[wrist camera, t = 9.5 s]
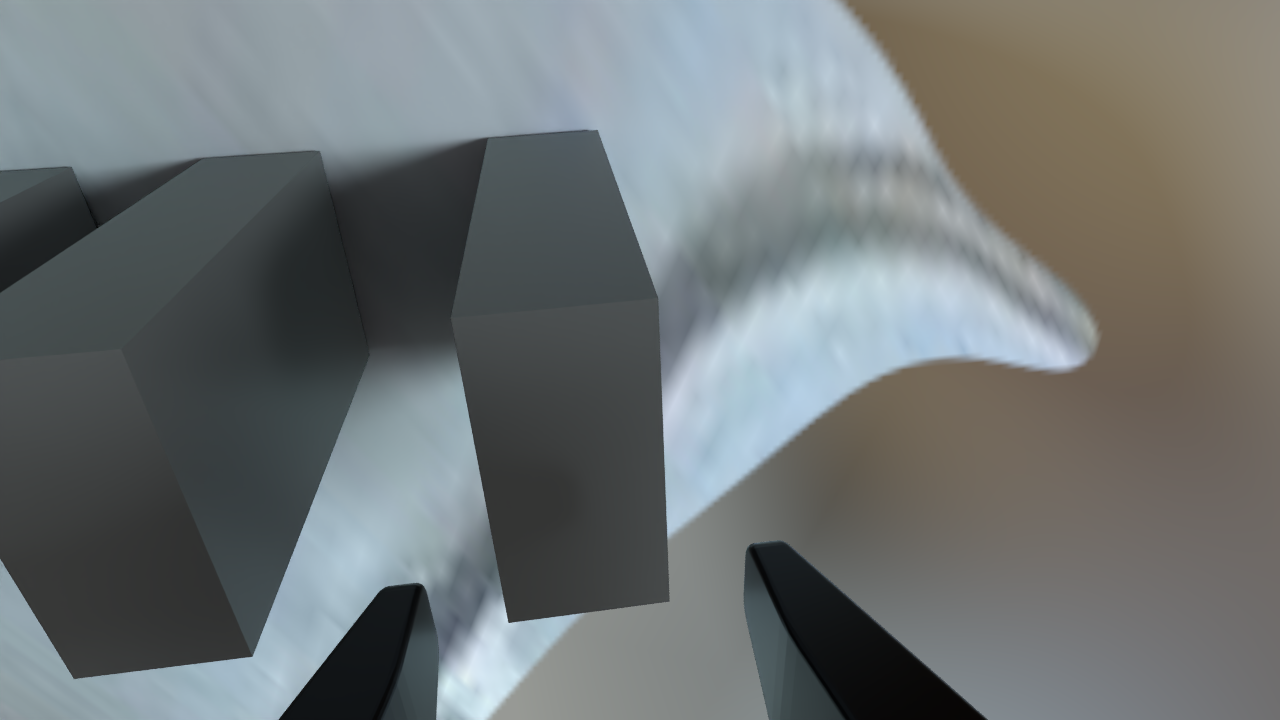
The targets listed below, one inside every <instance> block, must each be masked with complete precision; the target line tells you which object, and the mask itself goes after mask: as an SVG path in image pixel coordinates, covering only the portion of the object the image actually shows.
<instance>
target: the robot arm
mask: <svg viewBox="0 0 1280 720" xmlns="http://www.w3.org/2000/svg"><path fill="white" fill-rule="evenodd" d="M744 609H745V615H746V620H747V625H748V629H749V634H750V638H751V642H752V647H753V651H754V655H755V660H756V664H757V669H758V673H759V677H760V682H761V686H762V690H763V695H764V699H765V704H766V708H767V712H768V717H769V720H988V719H987V718H985V717H984V716H983V715H982V714H981V713H980V712H979V711H977V710H976V709H975V708H974V707H973V706H972V705H971V704H969V703H968V702H967V701H966V700H965V699H964V698H963V697H961V696H960V695H959V694H958V693H957V692H956V691H955V690H954V689H952V688H951V687H950V686H949V685H948V684H947V683H946V682H945V681H943V680H942V679H941V678H940V677H939V676H938V675H937V674H935V673H934V672H933V671H932V670H931V669H930V668H928V667H927V666H926V665H925V664H924V663H923V662H922V661H920V659H918V658H917V657H916V656H915V655H914V654H913V653H912V652H910V651H909V650H908V649H907V648H906V647H905V646H904V645H902V644H901V643H900V642H899V641H898V640H897V639H896V638H895V637H893V636H892V635H891V634H890V633H889V632H888V631H887V630H885V629H884V628H883V627H882V626H881V625H880V624H879V623H878V622H876V621H875V620H874V619H873V618H872V617H871V616H870V615H868V614H867V613H866V612H865V611H864V610H863V609H861V608H860V607H859V606H858V605H857V604H856V603H855V602H854V601H852V600H851V599H850V598H849V597H848V596H847V595H846V594H845V593H843V592H842V591H841V590H840V589H839V588H838V587H837V586H836V585H834V584H833V583H832V582H831V581H830V580H829V579H828V578H826V577H825V576H824V575H823V574H822V573H821V572H819V571H818V570H817V569H816V568H815V567H814V566H813V565H812V564H811V563H809V562H808V561H807V560H806V559H805V558H804V557H803V556H801V555H800V554H799V553H798V552H797V551H796V550H795V549H793V548H792V547H791V546H790V545H789V544H788V543H786V542H784V541H780V540H777V541H769V542H760V543H753V544H751V545H749V546H748V548H747V550H746V557H745V577H744ZM438 663H439V647H438V637H437V632H436V628H435V624H434V620H433V616H432V612H431V608H430V604H429V600H428V595H427V592H426V589H425V588H424V586H423V585H422V584H419V583H411V584H403V585H395V586H388V587H385V588H383V589H382V590H381V591H380V592H379V593H378V594H377V595H376V597H375V598H374V599H373V600H372V602H371V603H370V604H369V605H368V607H367V608H366V609H365V611H364V612H363V613H362V614H361V616H360V617H359V618H358V619H357V621H356V622H355V623H354V624H353V626H352V627H351V628H350V630H349V631H348V632H347V633H346V635H345V636H344V637H343V638H342V640H341V641H340V642H339V644H338V645H337V646H336V647H335V649H334V650H333V651H332V652H331V654H330V655H329V656H328V658H327V659H326V660H325V661H324V663H323V664H322V665H321V666H320V668H319V669H318V670H317V671H316V673H315V674H314V675H313V677H312V678H311V679H310V680H309V682H308V683H307V684H306V685H305V687H304V688H303V689H302V691H301V692H300V693H299V694H298V696H297V697H296V698H295V699H294V701H293V702H292V703H291V705H290V706H289V707H288V708H287V710H286V711H285V712H284V713H283V715H282V716H281V717H280V719H279V720H436V710H437V686H438Z"/></svg>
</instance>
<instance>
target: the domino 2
mask: <svg viewBox="0 0 1280 720" xmlns="http://www.w3.org/2000/svg"><path fill="white" fill-rule="evenodd" d="M368 358H369V351H368V347H367V342H366V338H365V334H364V330H363V326H362V322H361V318H360V314H359V310H358V305H357V301H356V297H355V293H354V289H353V285H352V281H351V277H350V273H349V268H348V264H347V260H346V256H345V252H344V248H343V244H342V240H341V236H340V231H339V227H338V223H337V219H336V215H335V211H334V207H333V203H332V199H331V194H330V190H329V186H328V182H327V178H326V174H325V170H324V166H323V162H322V157H321V153H320V151H313V152H298V153H282V154H267V155H251V156H236V157H221V158H205V159H201V160H200V161H198V162H197V163H195V164H194V165H192V166H191V167H189V168H188V169H186V170H185V171H183V172H182V173H180V174H179V175H177V176H176V177H174V178H173V179H171V180H170V181H168V182H167V183H165V184H164V185H162V186H161V187H159V188H158V189H156V190H155V191H153V192H152V193H150V194H149V195H147V196H146V197H144V198H143V199H141V200H140V201H138V202H137V203H135V204H134V205H132V206H131V207H129V208H128V209H126V210H124V211H123V212H121V213H120V214H118V215H117V216H115V217H114V218H112V219H111V220H109V221H108V222H106V223H105V224H103V225H102V226H100V227H99V228H97V229H96V230H94V231H93V232H91V233H90V234H88V235H87V236H85V237H84V238H82V239H81V240H79V241H78V242H76V243H75V244H73V245H72V246H70V247H69V248H67V249H66V250H64V251H63V252H61V253H60V254H58V255H57V256H55V257H54V258H52V259H51V260H49V261H48V262H46V263H45V264H43V265H42V266H40V267H39V268H37V269H36V270H34V271H33V272H31V273H30V274H28V275H27V276H25V277H23V278H22V279H20V280H19V281H17V282H16V283H14V284H13V285H11V286H10V287H8V288H7V289H5V290H4V291H2V292H1V293H0V559H1V561H2V562H3V564H4V566H5V567H6V569H7V570H8V572H9V574H10V575H11V577H12V579H13V580H14V582H15V583H16V585H17V587H18V588H19V590H20V592H21V593H22V595H23V597H24V598H25V600H26V601H27V603H28V605H29V606H30V608H31V610H32V611H33V613H34V614H35V616H36V618H37V619H38V621H39V623H40V624H41V626H42V627H43V629H44V631H45V632H46V634H47V636H48V637H49V639H50V641H51V642H52V644H53V645H54V647H55V649H56V650H57V652H58V654H59V655H60V657H61V658H62V660H63V662H64V663H65V665H66V667H67V668H68V670H69V672H70V673H71V675H72V676H73V678H74V679H77V678H85V677H93V676H101V675H109V674H117V673H125V672H133V671H141V670H149V669H157V668H165V667H173V666H181V665H189V664H197V663H205V662H213V661H221V660H229V659H237V658H245V657H253V654H254V651H255V649H256V646H257V644H258V641H259V639H260V636H261V633H262V631H263V628H264V626H265V623H266V621H267V618H268V615H269V613H270V610H271V608H272V605H273V603H274V600H275V597H276V595H277V592H278V590H279V587H280V585H281V582H282V579H283V577H284V574H285V572H286V569H287V567H288V564H289V561H290V559H291V556H292V554H293V551H294V548H295V546H296V543H297V541H298V538H299V536H300V533H301V530H302V528H303V525H304V523H305V520H306V518H307V515H308V512H309V510H310V507H311V505H312V502H313V500H314V497H315V494H316V492H317V489H318V487H319V484H320V482H321V479H322V476H323V474H324V471H325V469H326V466H327V464H328V461H329V458H330V456H331V453H332V451H333V448H334V446H335V443H336V440H337V438H338V435H339V433H340V430H341V428H342V425H343V422H344V420H345V417H346V415H347V412H348V410H349V407H350V404H351V402H352V399H353V397H354V394H355V392H356V389H357V386H358V384H359V381H360V379H361V376H362V373H363V371H364V368H365V366H366V363H367V361H368Z"/></svg>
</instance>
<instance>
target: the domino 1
mask: <svg viewBox="0 0 1280 720" xmlns="http://www.w3.org/2000/svg"><path fill="white" fill-rule="evenodd" d="M96 229H97V228H96V226H95V223H94V221H93V218H92V216H91V213H90V211H89V208H88V206H87V204H86V201H85V199H84V196H83V194H82V191H81V189H80V186H79V184H78V182H77V179H76V177H75V174H74V172H73V169H72V167H66V168H51V169H35V170H20V171H5V172H0V293H1V292H2V291H4V290H5V289H7V288H8V287H10V286H11V285H13V284H14V283H16V282H17V281H19V280H20V279H22V278H23V277H25V276H27V275H28V274H30V273H31V272H33V271H34V270H36V269H37V268H39V267H40V266H42V265H43V264H45V263H46V262H48V261H49V260H51V259H52V258H54V257H55V256H57V255H58V254H60V253H61V252H63V251H64V250H66V249H67V248H69V247H70V246H72V245H73V244H75V243H76V242H78V241H79V240H81V239H82V238H84V237H85V236H87V235H88V234H90V233H91V232H93V231H94V230H96Z"/></svg>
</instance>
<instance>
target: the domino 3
mask: <svg viewBox="0 0 1280 720" xmlns="http://www.w3.org/2000/svg"><path fill="white" fill-rule="evenodd" d="M451 323H452V328H453V334H454V339H455V344H456V349H457V355H458V360H459V365H460V370H461V376H462V381H463V386H464V391H465V397H466V402H467V407H468V412H469V418H470V423H471V428H472V434H473V439H474V444H475V449H476V455H477V460H478V465H479V470H480V476H481V481H482V486H483V491H484V497H485V502H486V507H487V512H488V518H489V523H490V528H491V533H492V539H493V544H494V549H495V554H496V560H497V565H498V570H499V576H500V581H501V586H502V591H503V597H504V602H505V607H506V612H507V618H508V623H511V622H519V621H526V620H534V619H541V618H549V617H556V616H564V615H571V614H579V613H586V612H593V611H601V610H609V609H616V608H624V607H631V606H638V605H646V604H654V603H662V602H669V576H668V575H669V574H668V547H667V520H666V494H665V467H664V441H663V414H662V387H661V361H660V334H659V307H658V296H657V294H656V291H655V288H654V285H653V282H652V280H651V277H650V274H649V271H648V269H647V266H646V263H645V260H644V258H643V255H642V252H641V249H640V246H639V244H638V241H637V238H636V235H635V233H634V230H633V227H632V224H631V221H630V219H629V216H628V213H627V210H626V208H625V205H624V202H623V199H622V197H621V194H620V191H619V188H618V185H617V183H616V180H615V177H614V174H613V172H612V169H611V166H610V163H609V160H608V158H607V155H606V152H605V149H604V147H603V144H602V141H601V138H600V135H599V133H598V130H593V131H579V132H566V133H553V134H540V135H527V136H514V137H500V138H488V141H487V146H486V151H485V155H484V160H483V165H482V170H481V175H480V179H479V184H478V189H477V194H476V199H475V203H474V208H473V213H472V218H471V223H470V227H469V232H468V237H467V242H466V247H465V251H464V256H463V261H462V266H461V271H460V275H459V280H458V285H457V290H456V295H455V299H454V304H453V309H452V314H451Z"/></svg>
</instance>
